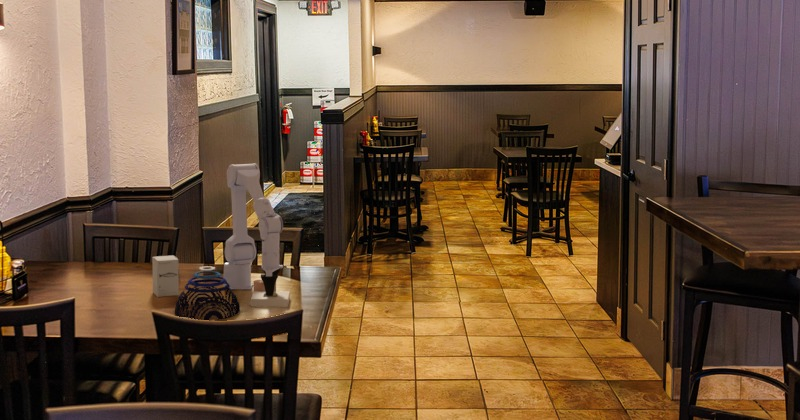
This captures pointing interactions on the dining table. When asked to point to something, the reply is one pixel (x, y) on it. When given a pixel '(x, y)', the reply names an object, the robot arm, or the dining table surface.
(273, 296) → the beech pin
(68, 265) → the dining table surface
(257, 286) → the terracotta peg
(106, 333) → the dining table surface
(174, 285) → the supplement box
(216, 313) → the decorative bowl
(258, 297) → the hole plate
